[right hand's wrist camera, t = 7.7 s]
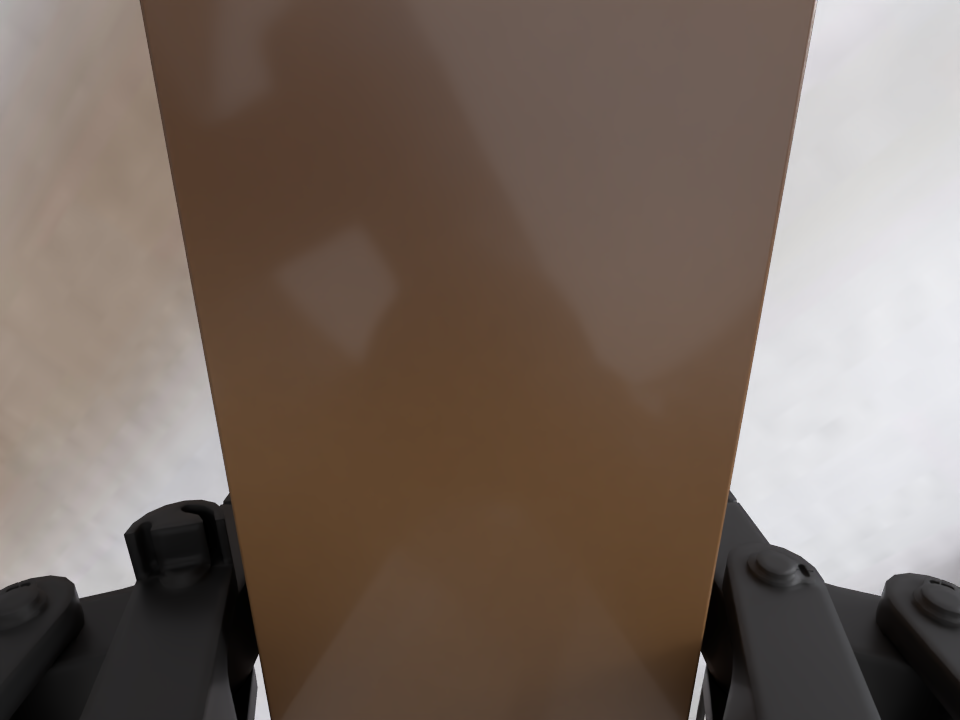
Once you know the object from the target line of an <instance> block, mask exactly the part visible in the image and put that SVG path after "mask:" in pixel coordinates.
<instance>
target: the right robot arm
mask: <svg viewBox="0 0 960 720" xmlns="http://www.w3.org/2000/svg"><path fill="white" fill-rule="evenodd" d="M124 537H125V540H126V544H127V548H128V551H129V555H130V558H131V562H132V566H133V569H134V573H135V576H136V580H137V581H136V584H135V585H134V586H131V587H127V588H124V589H120V590H115V591H111V592H106V593H102V594H97V595H93V596H88V597H84V598H79V597H78V594H77V591H76V588H75V585H74V583H72V582H71V581H70V580H68V579H67V578H66V577H59V576H51V575H50V576H44V577H37V578H30V579H28V580H24V581H21V582H19V583H18V582H17V583H15V584H12V585H10V586H7V587H5V588H4V589H2V590H0V720H254V717H255V707H256V697H257V688H258V687H257V681H256V674H255V669H254V663H255V661H256V659H257V657H258V654H259V651H258V646H257V640H256V635H255V629H254V624H253V618H252V613H251V607H250V602H249V597H248V591H247V586H246V580H245V575H244V569H243V564H242V558H241V553H240V547H239V542H238V536H237V531H236V525H235V520H234V514H233V509H232V503H231V498H230V493H229V494H228V496H227V497H226V498H225V500H224V501H223V505H220V506H218V505H217V504H216V503H214V502H209V501H205V500H188V501H181V502H177V503H173V504H169V505H165V506H163V507H161V508H158V509H156V510H154V511H151V512H149V513H147V514H146V515H144V516H143V517H141V518H140V519H139V520H137V521H136V522H134V523H133V524H132V525H131V526H130V528H129V529H128V530H127V531H126V533H125V534H124ZM701 653H702V655H703V657H704V659H705V662H706V669H705V674H704V679H703V684H702V690H701V695H700V700H699V705H698V710H697V717H696V720H704V716H705V715H706V720H960V587H958V586H956V585H954V584H952V583H949V582H947V581H944V580H940V579H938V578H934V577H931V576H927V575H920V574H913V573H906V574H898V575H894V576H893V577H891V578H890V579H889V580H887V581H886V583H885V586H884V589H883V592H882V595H881V596H878V595H873V594H869V593H864V592H860V591H855V590H850V589H846V588H841V587H837V586H834V585H830V584H827V583H824V580H823V579H822V577H821V576H820V574H819V573H818V571H817V570H816V569H815V567H813V566H812V565H811V564H810V563H808V562H807V561H806V560H805V559H803V558H802V557H801V556H799V555H797V554H795V553H793V552H791V551H789V550H787V549H785V548H781V547H778V546H774V545H771V544H769V542H768V541H767V540H766V538H765V537H764V536H763V534H762V533H761V532H760V530H759V529H758V528H757V526H756V525H755V524H754V522H753V521H752V520H751V518H750V517H749V516H748V514H747V513H746V511H745V510H744V509H743V507H742V506H741V505H740V503H737V501H736V498H735V497H734V495H733V494H732V493H731V491H730V490H729V495H728V501H727V507H726V512H725V518H724V523H723V529H722V534H721V540H720V546H719V551H718V557H717V562H716V568H715V573H714V579H713V584H712V590H711V596H710V601H709V607H708V612H707V618H706V623H705V629H704V634H703V640H702V646H701Z"/></svg>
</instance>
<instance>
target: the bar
mask: <svg viewBox="0 0 960 720" xmlns="http://www.w3.org/2000/svg"><path fill="white" fill-rule="evenodd" d="M817 1H818V0H140V4H141V10H142V15H143V21H144V26H145V32H146V37H147V42H148V48H149V53H150V59H151V64H152V70H153V75H154V81H155V86H156V92H157V97H158V103H159V108H160V114H161V119H162V125H163V130H164V136H165V141H166V147H167V152H168V158H169V163H170V169H171V174H172V180H173V185H174V191H175V196H176V202H177V207H178V213H179V218H180V224H181V229H182V234H183V240H184V245H185V251H186V256H187V262H188V267H189V273H190V278H191V284H192V289H193V295H194V300H195V306H196V311H197V317H198V322H199V328H200V333H201V339H202V344H203V350H204V355H205V361H206V366H207V372H208V377H209V383H210V388H211V394H212V399H213V405H214V410H215V415H216V421H217V426H218V432H219V437H220V443H221V448H222V454H223V459H224V465H225V470H226V476H227V481H228V487H229V492H230V498H231V503H232V509H233V514H234V520H235V525H236V531H237V536H238V542H239V547H240V553H241V558H242V564H243V569H244V575H245V580H246V586H247V591H248V597H249V602H250V607H251V613H252V618H253V624H254V629H255V635H256V640H257V646H258V651H259V657H260V662H261V668H262V673H263V679H264V684H265V690H266V695H267V701H268V706H269V712H270V717H271V720H688V718H689V712H690V707H691V701H692V696H693V690H694V685H695V679H696V673H697V668H698V662H699V657H700V651H701V646H702V640H703V634H704V629H705V623H706V618H707V612H708V607H709V601H710V596H711V590H712V584H713V579H714V573H715V568H716V562H717V557H718V551H719V546H720V540H721V534H722V529H723V523H724V518H725V512H726V507H727V501H728V495H729V490H730V484H731V479H732V473H733V468H734V462H735V457H736V451H737V445H738V440H739V434H740V429H741V423H742V418H743V412H744V406H745V401H746V395H747V390H748V384H749V379H750V373H751V368H752V362H753V356H754V351H755V345H756V340H757V334H758V329H759V323H760V318H761V312H762V306H763V301H764V295H765V290H766V284H767V279H768V273H769V267H770V262H771V256H772V251H773V245H774V240H775V234H776V229H777V223H778V217H779V212H780V206H781V201H782V195H783V190H784V184H785V178H786V173H787V167H788V162H789V156H790V151H791V145H792V140H793V134H794V128H795V123H796V117H797V112H798V106H799V101H800V95H801V89H802V84H803V78H804V73H805V67H806V62H807V56H808V51H809V45H810V39H811V34H812V28H813V23H814V17H815V12H816V6H817Z"/></svg>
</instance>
